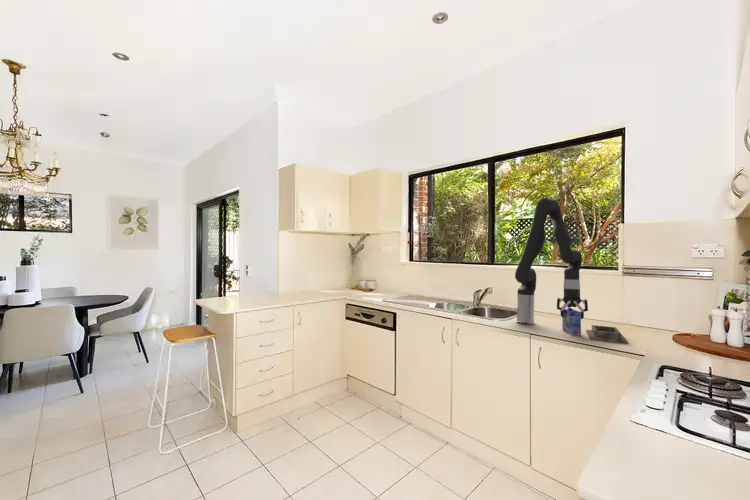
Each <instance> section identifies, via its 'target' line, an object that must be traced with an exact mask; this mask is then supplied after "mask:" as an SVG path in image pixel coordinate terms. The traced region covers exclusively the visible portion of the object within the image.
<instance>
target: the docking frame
mask: <svg viewBox="0 0 750 500" xmlns="http://www.w3.org/2000/svg"><path fill="white" fill-rule="evenodd" d="M585 332H586V334H587V336H588V338H589V340H591V341H597V342H606V343H607V342H608V343H616V344H625V345H626V344H627V345H628V344H629V343H628V340H627V339H626V337H625V336H624V335H623V334H622V333H621V331H619V329H618V328H617V327H616V326H605V325H596V324H595V325H594V324H591V329H586V331H585Z"/></svg>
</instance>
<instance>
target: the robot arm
mask: <svg viewBox="0 0 750 500" xmlns="http://www.w3.org/2000/svg"><path fill="white" fill-rule="evenodd" d="M547 217H549V219H550V220H551V223H552V231H553V237H554V239H555V241H556V243H557V246H558V250H559V251H558V253H559V257H560V259H561V260H562V262H563V263H564V264H567V265H568V266H567V267H566V268H564V271H563V273H564V275H563V298H560V297H557V299H556V309H557V310H560V317H561V318H564V311H563V310H564V309H567V308H568V307H569V306H570V307H571V308H578V309H579V310H580V312H581V320H583V319H584V318H585V312H588V311H589V306H588V305H589V303H588V299H586V298H585V299H582V298H581V281H580V280H581V279H580V270H581V266H582V263H583V255H582V253H581V252H580V251H579V250H577V249H576V250H574V249H573V250H572V248H571V247H572V245H573V240H572V238H571V235H570V234H569V231H568V229H567V227H566V224H565V222H564V218H563V215H562V211H561V206H560V204H559V202H558V200H556V199H554V198H547V197H543V198H540V199H539V200H538V201H537V203H536V205H535V208H534V215H533V220H532V223H531V227H530V230H529V234H528V236H527V239H526V242H525V246H524V249H523V252H522V256H521V259H520V261H519V263H518V265H517V268H516V270H515V273H514V277H515V280H516V282H518V283H519V284H521V285H520V287H519V288H518V289H517V295H516V296H517V303H516V304H517V305H516V306H517V307H516V322H517V321H519V322H522V323H527V324H526V325H533V323H535V291H536V289H537V272H536V270H535V269H534V268H533V267H532V266H533V263H534V262H535V260H536V258H537V257H538V256H539V255H540V254H541V252H542V250H543V247H544V244H545V242H546V227H545V225H546V221H547ZM562 302H563V303H564V304H563V305H562V306H561V307H560V304H561V303H562ZM581 302H582V303H583V304H584V305H583V306H584V308H583V307H582V306H581V305H580V304H581ZM567 306H568V307H567ZM570 307H569V308H570ZM522 323H521V324H522Z"/></svg>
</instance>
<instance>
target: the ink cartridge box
mask: <svg viewBox="0 0 750 500" xmlns="http://www.w3.org/2000/svg"><path fill="white" fill-rule="evenodd" d="M563 311H564V318H562V317H561V318H562V321H561V322H562V331H563V332H564V333H566V334H568V335H570V336H582V321H581V320H582V319H581V311H579V310H576V309H573V307H570V306H569V307H568V306H567V307H566V308H565V309H564V310H563Z"/></svg>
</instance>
